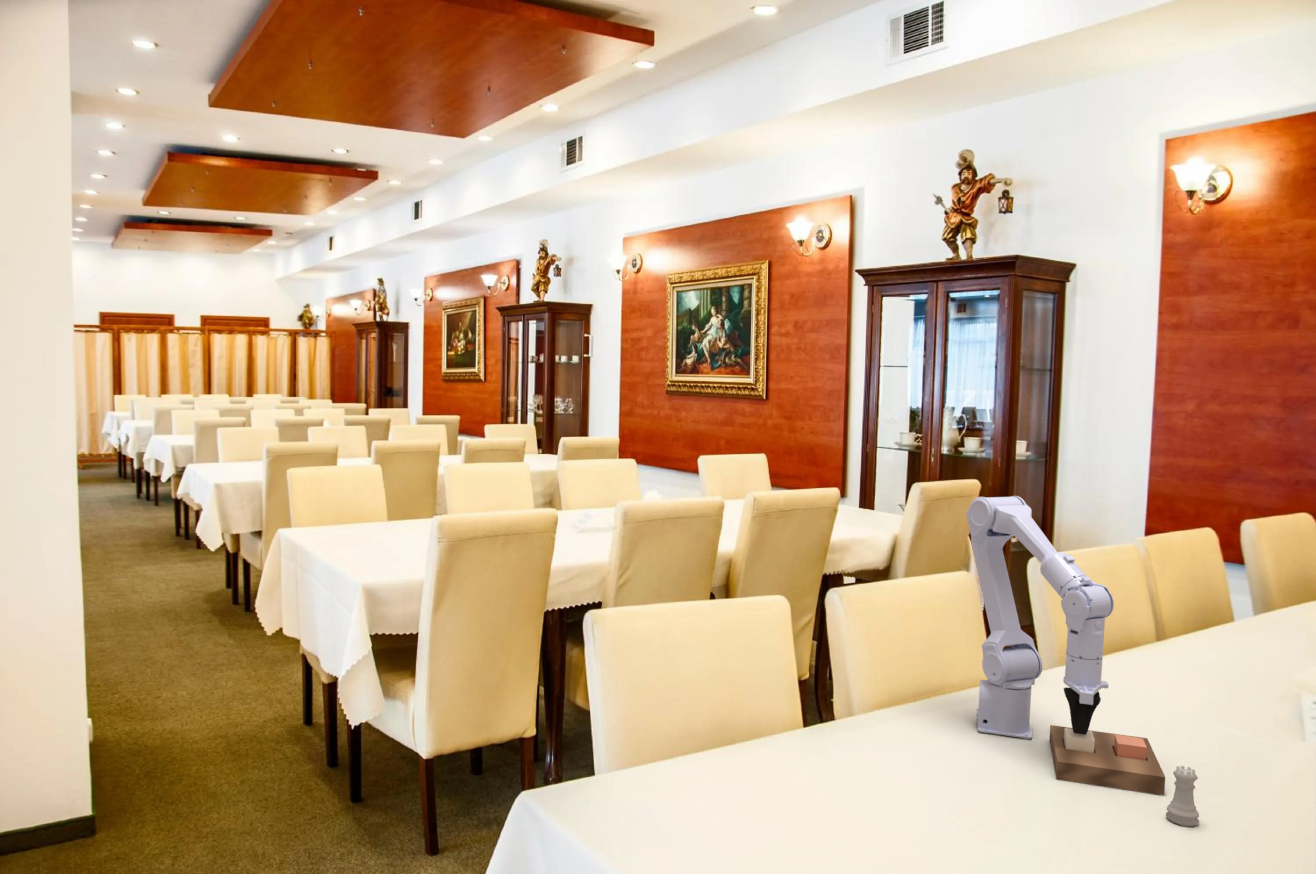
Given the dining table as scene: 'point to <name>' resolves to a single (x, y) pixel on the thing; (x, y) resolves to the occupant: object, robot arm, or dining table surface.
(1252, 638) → the dining table surface
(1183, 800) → the rook chess piece
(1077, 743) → the ivory key
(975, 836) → the dining table surface
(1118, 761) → the key panel
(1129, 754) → the terracotta key
